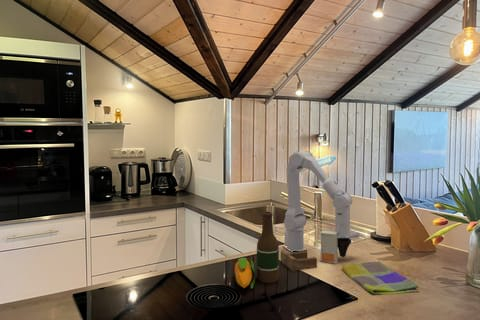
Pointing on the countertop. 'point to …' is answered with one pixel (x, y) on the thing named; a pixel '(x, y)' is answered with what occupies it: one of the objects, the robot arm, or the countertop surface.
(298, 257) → the caddy
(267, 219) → the beer bottle
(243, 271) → the corn
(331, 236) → the skincare box
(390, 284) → the dish towel
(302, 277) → the countertop surface
